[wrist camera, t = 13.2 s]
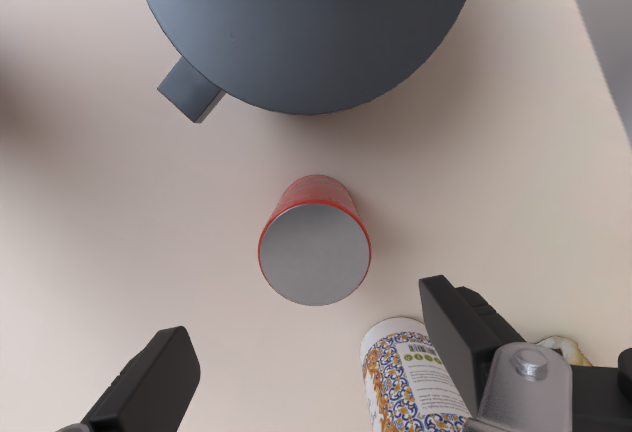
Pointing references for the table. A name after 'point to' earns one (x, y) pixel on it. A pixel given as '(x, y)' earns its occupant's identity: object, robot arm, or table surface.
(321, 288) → the tomato can
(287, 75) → the pot lid
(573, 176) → the table surface
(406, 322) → the bath foam
